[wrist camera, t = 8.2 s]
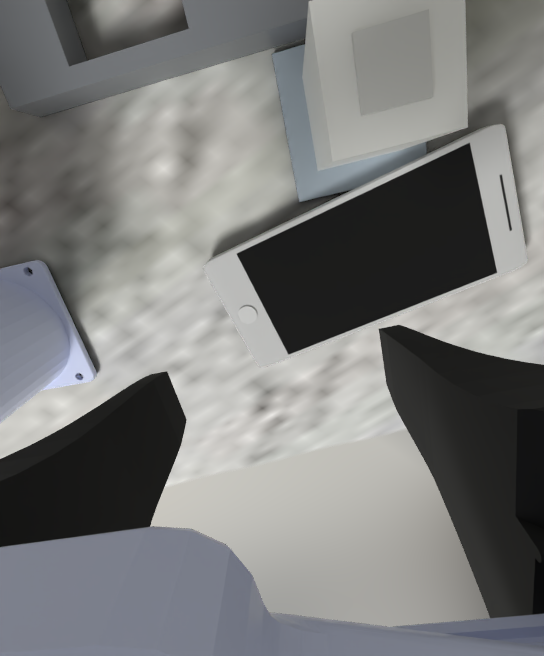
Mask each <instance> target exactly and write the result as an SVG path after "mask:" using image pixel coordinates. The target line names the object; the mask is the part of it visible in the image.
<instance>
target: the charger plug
mask: <svg viewBox="0 0 544 656" xmlns="http://www.w3.org/2000/svg"><path fill="white" fill-rule="evenodd" d="M302 79H303V85H304V91H305V97H306V104H307V110H308V116H309V122H310V128H311V134H312V140H313V146H314V152H315V158H316V164H317V170H318V171H320V170H324V169H328V168H332V167H336V166H340V165H344V164H348V163H352V162H356V161H360V160H364V159H368V158H372V157H376V156H380V155H384V154H388V153H392V152H396V151H400V150H403V149H406V148H409V147H412V146H415V145H418V144H421V143H424V142H427V141H429V140H432V139H435V138H438V137H441V136H444V135H447V134H450V133H453V132H456V131H459V130H462V129H465V128H468V106H467V54H466V3H465V0H312V1H309V4H308V15H307V27H306V39H305V50H304V62H303V74H302Z"/></svg>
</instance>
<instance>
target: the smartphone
mask: <svg viewBox="0 0 544 656" xmlns="http://www.w3.org/2000/svg"><path fill="white" fill-rule="evenodd" d="M527 261H528V257H527V251H526V245H525V239H524V233H523V227H522V222H521V216H520V210H519V204H518V198H517V192H516V187H515V181H514V175H513V169H512V163H511V157H510V152H509V146H508V140H507V134H506V128H505V126H504V125H502V124H497V125H491V126H486V127H483V128H480V129H478V130H476V131H474V132H472V133H470V134H468V135H465V136H463V137H461V138H459V139H457V140H455V141H453V142H451V143H449V144H447V145H445V146H443V147H441V148H438V149H436V150H434V151H432V152H430V153H428V154H426V155H424V156H422V157H420V158H418V159H416V160H414V161H411V162H409V163H407V164H405V165H403V166H401V167H399V168H397V169H395V170H393V171H391V172H389V173H387V174H384V175H382V176H380V177H378V178H376V179H374V180H372V181H370V182H368V183H366V184H364V185H362V186H360V187H357V188H355V189H353V190H351V191H349V192H347V193H345V194H343V195H341V196H339V197H337V198H335V199H332V200H330V201H328V202H326V203H324V204H322V205H320V206H318V207H316V208H314V209H312V210H310V211H308V212H305V213H303V214H301V215H299V216H297V217H295V218H293V219H291V220H289V221H287V222H285V223H283V224H281V225H278V226H276V227H274V228H272V229H270V230H268V231H266V232H264V233H262V234H260V235H258V236H256V237H254V238H251V239H249V240H247V241H245V242H243V243H241V244H239V245H237V246H235V247H233V248H231V249H229V250H227V251H224V252H222V253H220V254H218V255H216V256H214V257H213V258H211V259H210V260H209V261H208V262H207V263H206V264H205V266H204V268H203V270H204V272H205V274H206V276H207V277H208V279H209V281H210V283H211V284H212V286H213V288H214V290H215V291H216V293H217V295H218V297H219V299H220V300H221V302H222V304H223V306H224V307H225V309H226V311H227V313H228V315H229V316H230V318H231V320H232V322H233V323H234V325H235V327H236V329H237V330H238V332H239V334H240V336H241V338H242V339H243V341H244V343H245V345H246V346H247V348H248V350H249V352H250V353H251V355H252V357H253V359H254V361H255V362H256V364H257V366H258V367H268V366H271V365H273V364H276V363H279V362H281V361H284V360H286V359H289V358H291V357H294V356H296V355H299V354H302V353H304V352H307V351H309V350H312V349H314V348H317V347H320V346H322V345H325V344H327V343H330V342H332V341H335V340H337V339H340V338H343V337H345V336H348V335H350V334H353V333H355V332H358V331H360V330H363V329H366V328H368V327H371V326H373V325H376V324H378V323H381V322H384V321H386V320H389V319H391V318H394V317H396V316H399V315H401V314H404V313H407V312H409V311H412V310H414V309H417V308H419V307H422V306H425V305H427V304H430V303H432V302H435V301H437V300H440V299H442V298H445V297H448V296H450V295H453V294H455V293H458V292H460V291H463V290H466V289H468V288H471V287H473V286H476V285H478V284H481V283H483V282H486V281H489V280H491V279H494V278H496V277H499V276H501V275H504V274H507V273H509V272H512V271H514V270H516V269H519V268H520V267H522V266H523V265H525V264H526V263H527Z"/></svg>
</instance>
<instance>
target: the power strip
mask: <svg viewBox="0 0 544 656" xmlns="http://www.w3.org/2000/svg"><path fill="white" fill-rule="evenodd" d="M309 1H312V0H182V3H183V7H184V11H185V15H186V19H187V23H188V27H189V29H186V30H183V31H180V32H177V33H173V34H170V35H167V36H164V37H161V38H158V39H155V40H151V41H148V42H145V43H142V44H139V45H136V46H132V47H129V48H126V49H123V50H120V51H117V52H113V53H110V54H107V55H104V56H101V57H98V58H95V59H91V60H88V61H87V58H86V55H85V52H84V49H83V47H82V44H81V41H80V38H79V35H78V32H77V29H76V26H75V24H74V21H73V18H72V15H71V12H70V9H69V6H68V3H67V0H0V86H1V88H2V90H3V93H4V95H5V97H6V100H7V102H8V104H9V107H10V109H13V110H17V111H20V112H24V113H28V114H31V115H35V116H39V117H43V116H46V115H49V114H53V113H56V112H59V111H63V110H66V109H70V108H73V107H76V106H80V105H83V104H86V103H90V102H93V101H96V100H100V99H103V98H106V97H110V96H113V95H116V94H120V93H123V92H126V91H130V90H133V89H136V88H140V87H143V86H147V85H150V84H153V83H157V82H160V81H163V80H167V79H170V78H173V77H177V76H180V75H183V74H187V73H190V72H193V71H197V70H200V69H203V68H207V67H210V66H214V65H217V64H220V63H224V62H227V61H230V60H234V59H237V58H240V57H244V56H247V55H250V54H254V53H257V52H260V51H264V50H267V49H270V48H274V47H277V46H280V45H284V44H287V43H291V42H294V41H297V40H301V39H304V38H306V27H307V15H308V4H309Z"/></svg>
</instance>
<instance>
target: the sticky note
mask: <svg viewBox="0 0 544 656" xmlns="http://www.w3.org/2000/svg"><path fill="white" fill-rule="evenodd" d="M304 50H305V44H304V45H300V46H297V47H294V48H290V49H287V50H283V51H280V52H277V53H273V54H272V57H273V63H274V68H275V74H276V79H277V84H278V90H279V95H280V101H281V106H282V112H283V117H284V122H285V128H286V133H287V139H288V144H289V150H290V155H291V160H292V166H293V171H294V177H295V182H296V188H297V193H298V199H299V202H301V201H306V200H310V199H314V198H318V197H323V196H327V195H331V194H335V193H340V192H344V191H348V190H352V189H355V188H357V187H360V186H362V185H364V184H366V183H368V182H370V181H372V180H374V179H376V178H378V177H380V176H382V175H384V174H387V173H389V172H391V171H393V170H395V169H397V168H399V167H401V166H403V165H405V164H407V163H409V162H411V161H414V160H416V159H418V158H420V157H422V156H424V155H426V154H427V149H426V142H424V143H421V144H418V145H415V146H412V147H409V148H406V149H403V150H400V151H396V152H392V153H388V154H384V155H380V156H376V157H372V158H368V159H364V160H360V161H356V162H352V163H348V164H344V165H340V166H336V167H332V168H328V169H324V170H320V171H318V170H317V164H316V158H315V152H314V146H313V140H312V134H311V128H310V122H309V116H308V110H307V104H306V97H305V91H304V85H303V79H302V74H303V62H304Z"/></svg>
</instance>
